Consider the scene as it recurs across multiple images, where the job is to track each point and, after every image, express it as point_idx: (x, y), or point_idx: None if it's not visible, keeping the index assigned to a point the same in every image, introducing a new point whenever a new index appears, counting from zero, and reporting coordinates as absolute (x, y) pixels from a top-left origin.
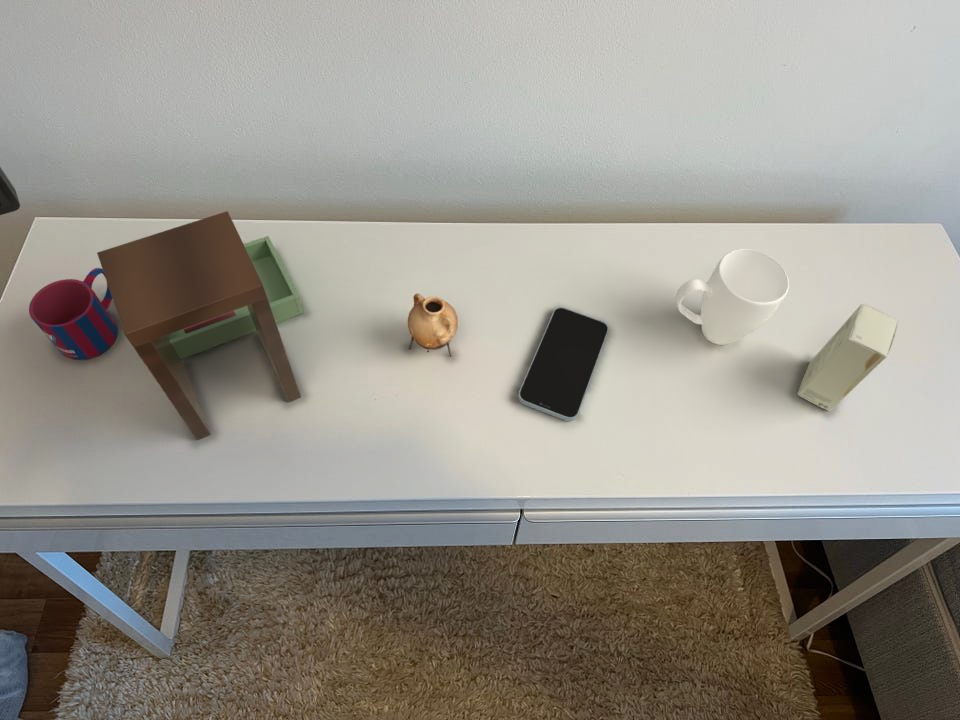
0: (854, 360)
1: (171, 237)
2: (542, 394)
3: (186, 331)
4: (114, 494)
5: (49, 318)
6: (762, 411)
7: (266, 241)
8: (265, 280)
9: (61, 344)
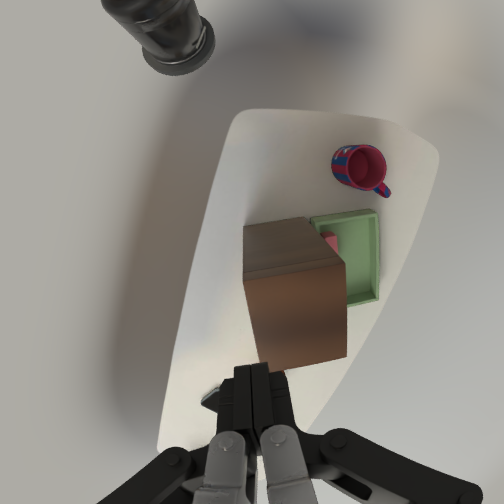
0: None
1: (337, 320)
2: (216, 398)
3: (324, 238)
4: (219, 172)
5: (364, 149)
6: (191, 446)
7: (374, 298)
8: (352, 285)
9: (340, 154)
